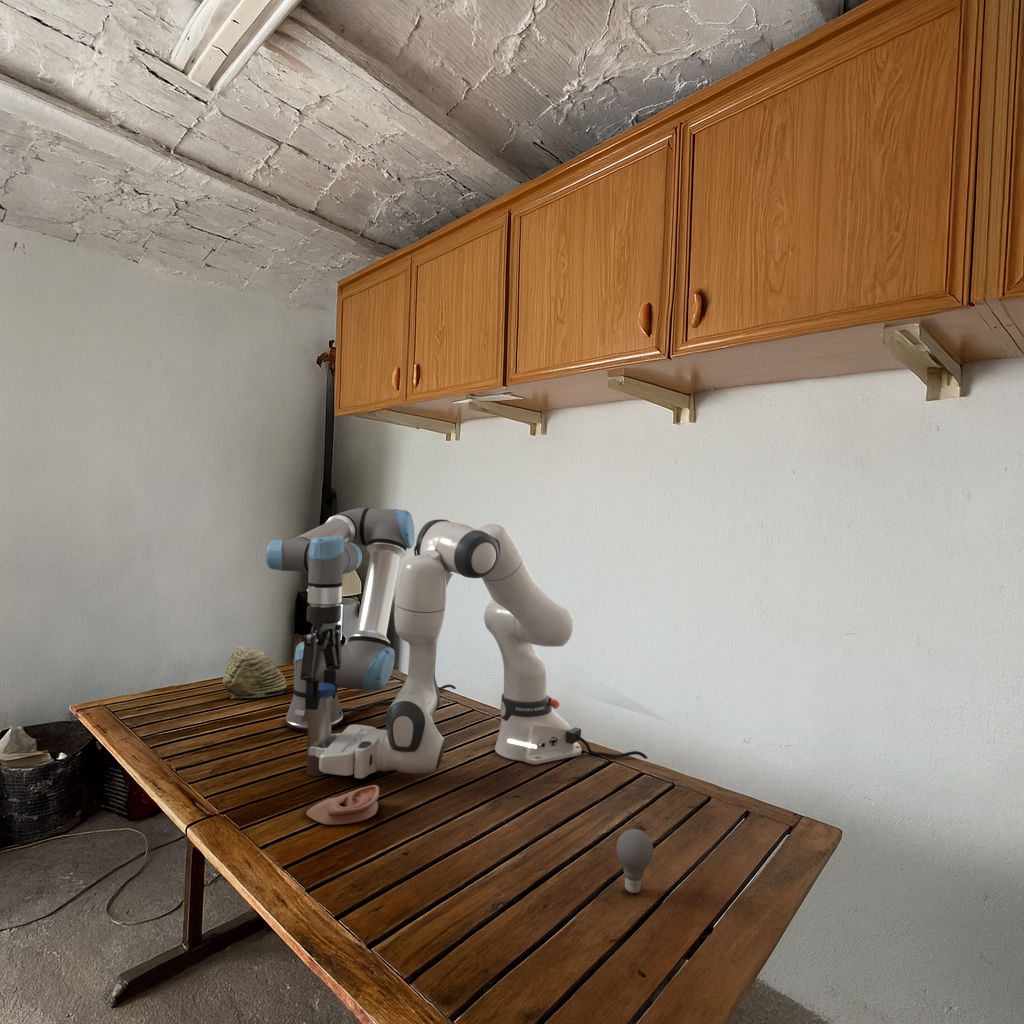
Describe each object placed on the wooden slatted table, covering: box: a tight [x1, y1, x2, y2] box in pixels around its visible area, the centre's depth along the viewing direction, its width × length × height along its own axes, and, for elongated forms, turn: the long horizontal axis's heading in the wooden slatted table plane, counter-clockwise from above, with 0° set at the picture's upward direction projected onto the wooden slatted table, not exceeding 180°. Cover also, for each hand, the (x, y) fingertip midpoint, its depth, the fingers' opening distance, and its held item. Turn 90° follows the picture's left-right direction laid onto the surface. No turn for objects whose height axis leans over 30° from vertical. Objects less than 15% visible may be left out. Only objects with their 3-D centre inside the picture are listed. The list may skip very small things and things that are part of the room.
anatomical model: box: [305, 784, 380, 826], centre depth 128 cm, size 13×4×12 cm
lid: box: [318, 683, 335, 697], centre depth 146 cm, size 6×6×2 cm
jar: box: [305, 695, 333, 777], centre depth 146 cm, size 5×5×19 cm
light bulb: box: [615, 828, 654, 894], centre depth 106 cm, size 6×6×10 cm
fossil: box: [222, 646, 288, 699], centre depth 198 cm, size 9×18×15 cm, turn 132°
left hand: (320, 702), depth 146 cm, fingers open, 8 cm apart
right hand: (315, 744), depth 146 cm, fingers closed on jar, 5 cm apart
